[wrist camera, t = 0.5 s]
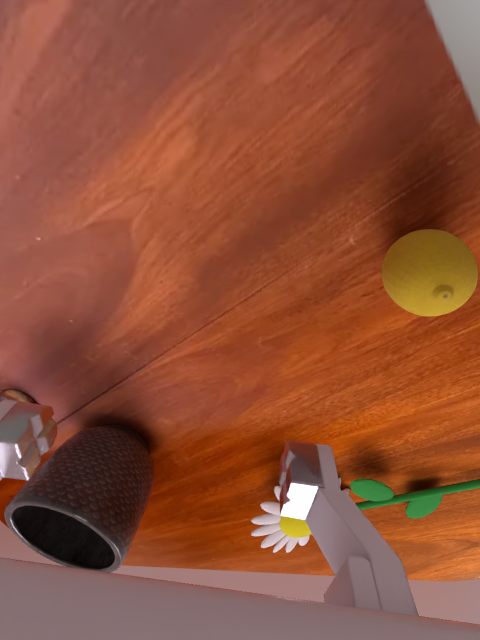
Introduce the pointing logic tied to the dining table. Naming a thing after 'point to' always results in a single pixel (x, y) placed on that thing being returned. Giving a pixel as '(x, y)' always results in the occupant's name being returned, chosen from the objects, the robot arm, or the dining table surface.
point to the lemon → (429, 272)
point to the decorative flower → (369, 489)
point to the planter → (86, 499)
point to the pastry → (15, 396)
